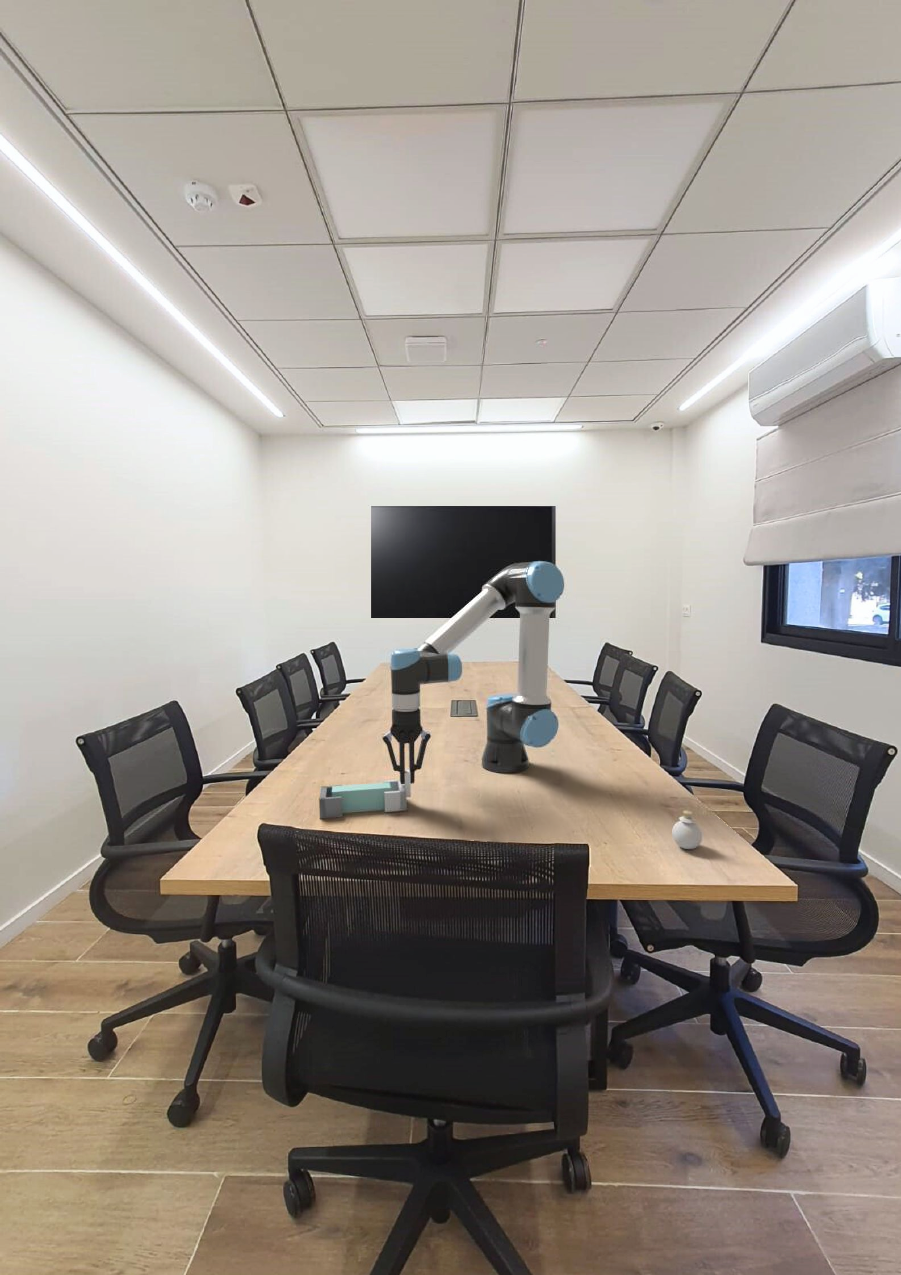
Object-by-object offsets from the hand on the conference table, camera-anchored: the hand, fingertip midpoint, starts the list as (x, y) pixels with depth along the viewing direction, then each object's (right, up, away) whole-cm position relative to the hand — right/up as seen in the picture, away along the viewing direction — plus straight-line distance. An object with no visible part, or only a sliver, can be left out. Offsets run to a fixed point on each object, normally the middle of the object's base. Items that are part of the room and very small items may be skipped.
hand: (407, 795), depth 144 cm
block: (-12, -3, -2) cm, 12 cm away
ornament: (+64, -5, -25) cm, 69 cm away
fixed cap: (-19, -3, -3) cm, 20 cm away
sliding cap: (-3, -3, 0) cm, 4 cm away
